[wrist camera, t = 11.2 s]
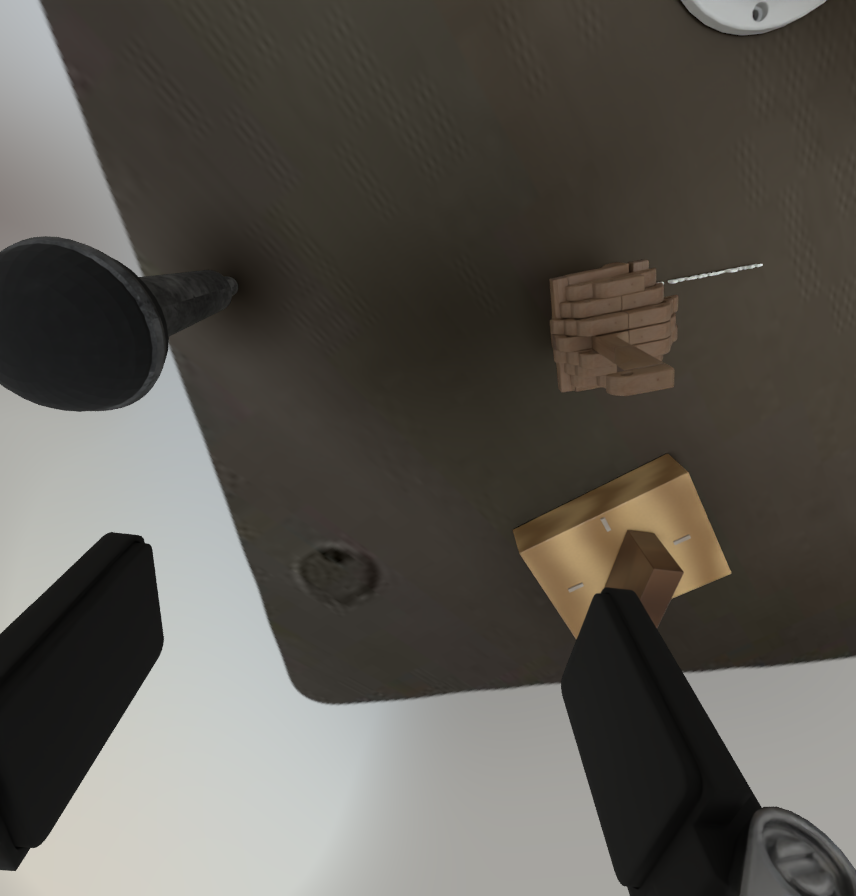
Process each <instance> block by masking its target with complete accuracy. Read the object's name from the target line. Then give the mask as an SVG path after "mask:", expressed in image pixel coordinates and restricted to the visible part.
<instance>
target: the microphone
mask: <svg viewBox="0 0 856 896" xmlns="http://www.w3.org/2000/svg"><path fill="white" fill-rule="evenodd" d="M237 291H238V284H237V282H236V280H235V279H233V278H232V277H224V276H222V275H221V274H220V273H218V272H216V271H212V270H204V271H194V272H185V273H175V274H166V275H156V276H146V277H138V276H137V275H136V274H135V273H134V272H132V270H130V269H129V268H127V267H126V266H124V265H123V264H122V263H120V262H119V261H117V260H115V259H113V258H111V257H109V256H107V255H106V254H104V253H103V252H101V251H99V250H97V249H94V248H92V247H90V246H88V245H85V244H82V243H79V242H76V241H73V240H70V239H64V238H59V237H34V238H29V239H26V240H22V241H20V242H17V243H15V244H13V245H11V246H9V247H7V248H5V249H4V250H3V251H1V252H0V384H1V385H3V386H4V387H5V388H7V389H8V390H10V391H12V392H13V393H15V394H17V395H19V396H21V397H22V398H24V399H26V400H29V401H31V402H34V403H36V404H38V405H42V406H46V407H50V408H54V409H60V410H66V411H79V412H81V411H106V410H113V409H118V408H122V407H125V406H128V405H130V404H133V403H134V402H136V401H138V400H140V399H141V398H142V397H143V396H145V395H146V394H147V393H148V392H149V391H150V390H151V388H152V387H153V386H154V384H155V383H156V381H157V379H158V378H159V376H160V373H161V371H162V369H163V365H164V363H165V359H166V356H167V352H168V340H169V336H171V335H173V334H175V333H177V332H179V331H181V330H183V329H185V328H187V327H189V326H191V325H193V324H195V323H197V322H199V321H201V320H203V319H205V318H207V317H209V316H211V315H213V314H215V313H217V312H219V311H221V310H223V309H225V308H226V307H227V306H228V305H229V304H230V302H231V299H232V295H234V294H236V293H237Z"/></svg>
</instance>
